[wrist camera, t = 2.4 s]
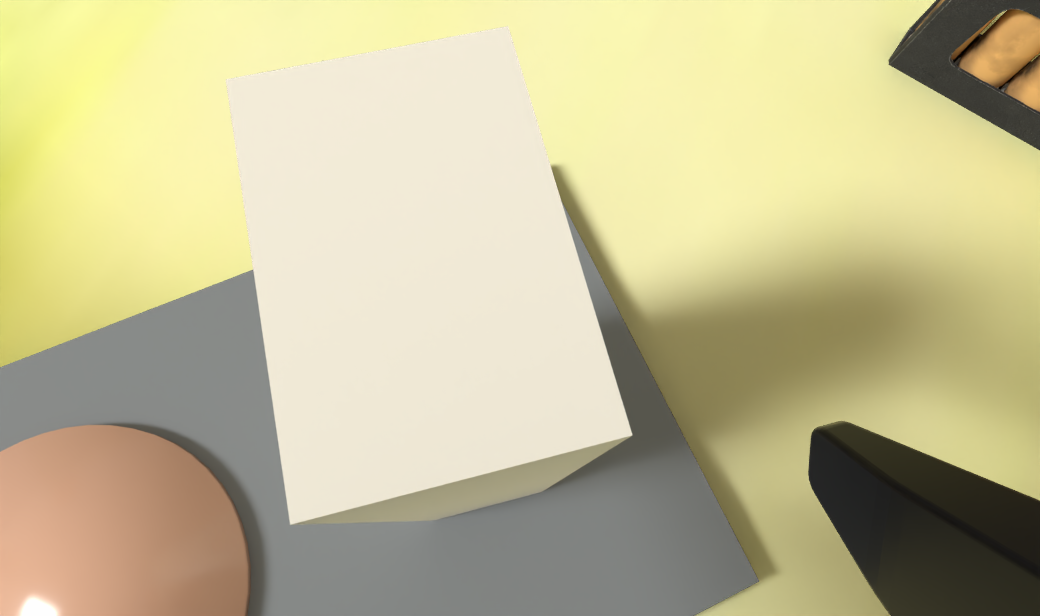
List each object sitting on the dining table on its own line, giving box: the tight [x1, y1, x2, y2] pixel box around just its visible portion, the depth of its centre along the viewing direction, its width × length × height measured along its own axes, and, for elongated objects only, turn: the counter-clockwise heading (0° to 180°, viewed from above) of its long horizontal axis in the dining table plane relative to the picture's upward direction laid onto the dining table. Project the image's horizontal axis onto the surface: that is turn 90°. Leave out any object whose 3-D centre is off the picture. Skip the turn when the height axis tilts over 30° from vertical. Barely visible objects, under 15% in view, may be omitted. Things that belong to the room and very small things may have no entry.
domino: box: [226, 26, 632, 525], centre depth 12 cm, size 4×3×13 cm
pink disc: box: [0, 425, 251, 616], centre depth 17 cm, size 9×9×1 cm
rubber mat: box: [0, 201, 759, 616], centre depth 18 cm, size 22×14×1 cm, turn 114°
